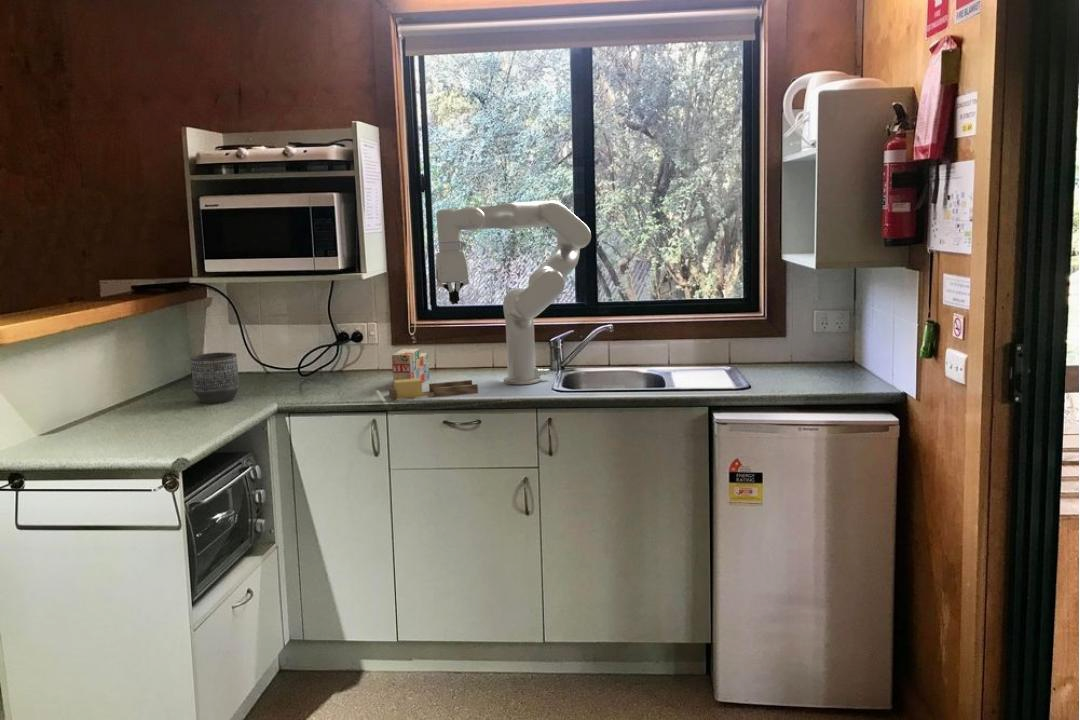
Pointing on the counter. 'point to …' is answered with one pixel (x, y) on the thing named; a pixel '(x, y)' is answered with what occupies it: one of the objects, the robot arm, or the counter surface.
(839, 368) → the counter surface
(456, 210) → the robot arm
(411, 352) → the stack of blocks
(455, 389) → the chute board
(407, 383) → the block
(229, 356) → the planter
